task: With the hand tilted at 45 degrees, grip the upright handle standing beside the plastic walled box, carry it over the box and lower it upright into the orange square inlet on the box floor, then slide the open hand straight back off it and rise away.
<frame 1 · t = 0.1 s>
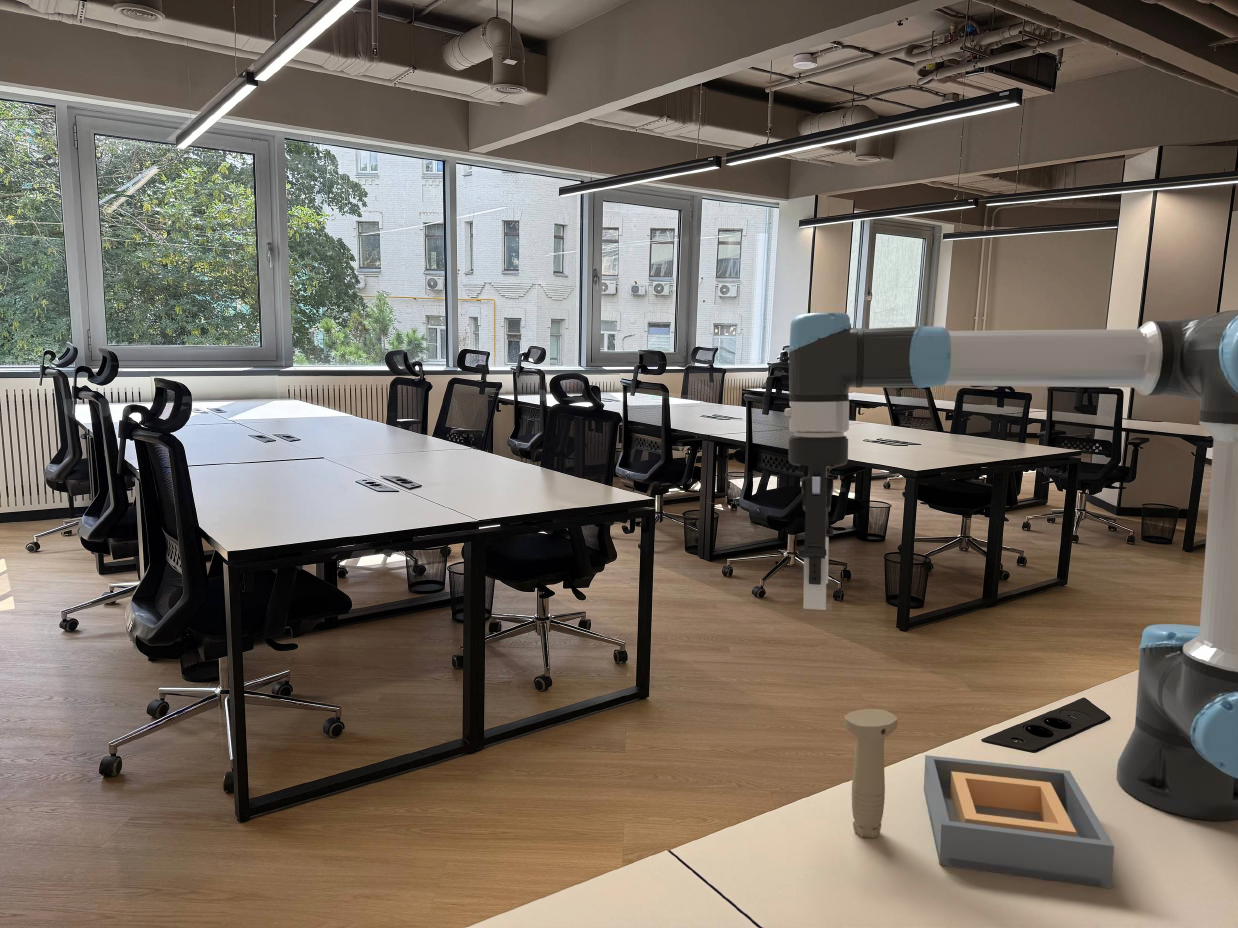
hand: (816, 594, 110), 28 cm above the table, tool pointing down, fingers open, 13 cm apart
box: (1007, 833, 104), on the table
handle: (866, 833, 104), on the table
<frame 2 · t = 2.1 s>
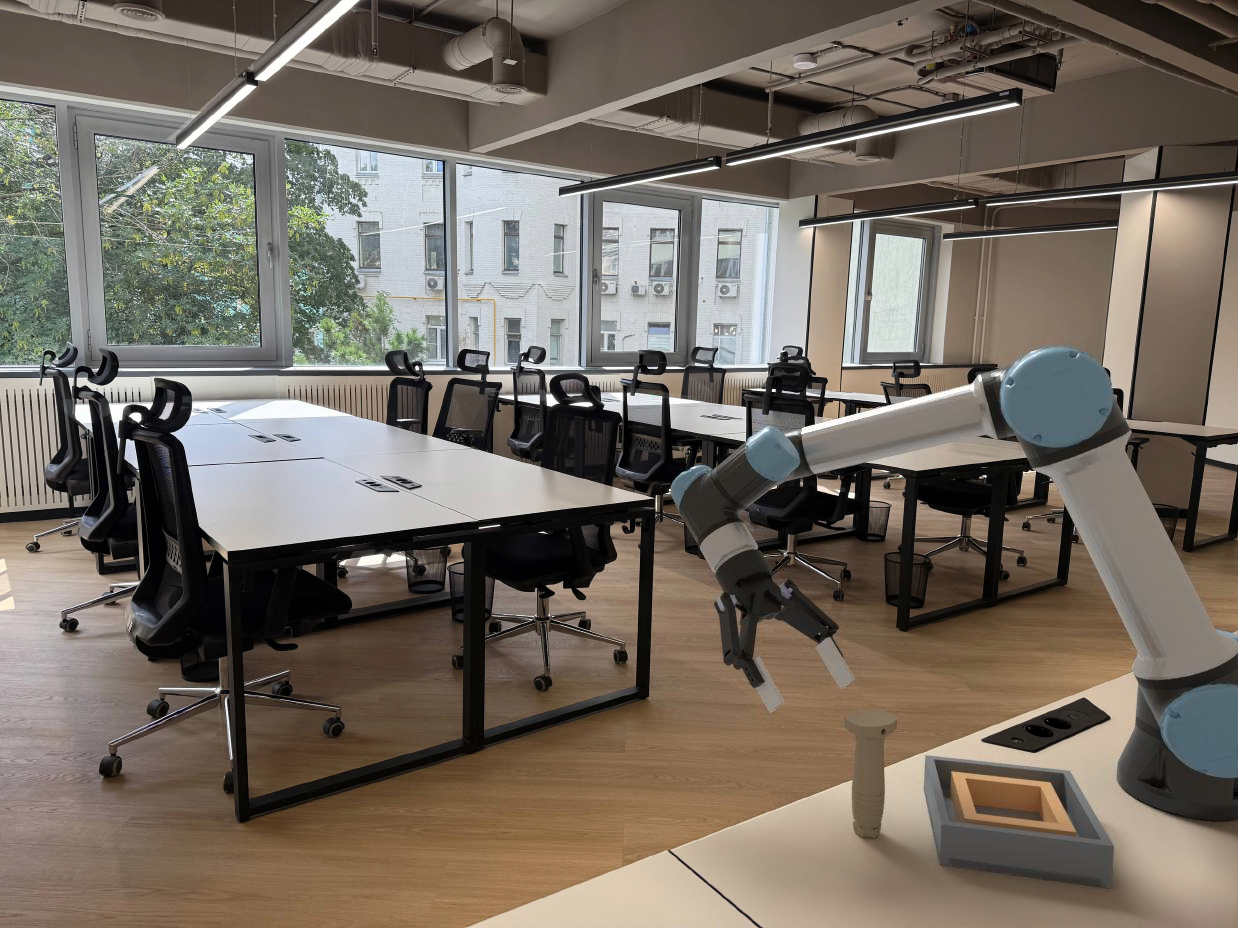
hand: (813, 695, 109), 15 cm above the table, tool tilted 45°, fingers open, 13 cm apart
nothing on the table moved.
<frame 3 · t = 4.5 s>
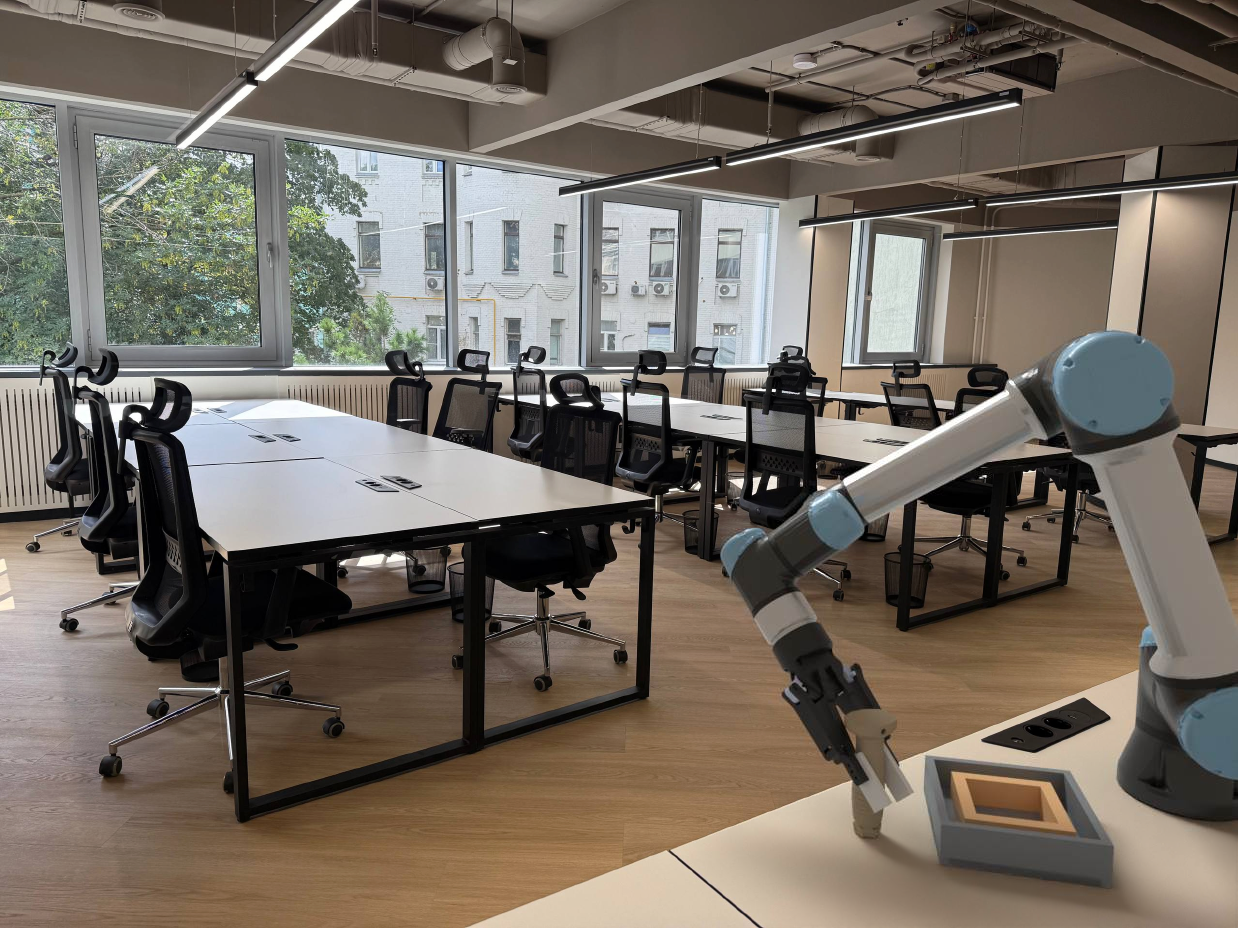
hand: (894, 802, 101), 6 cm above the table, tool tilted 45°, fingers closed on handle, 3 cm apart
handle: (866, 833, 104), on the table, touching gripper
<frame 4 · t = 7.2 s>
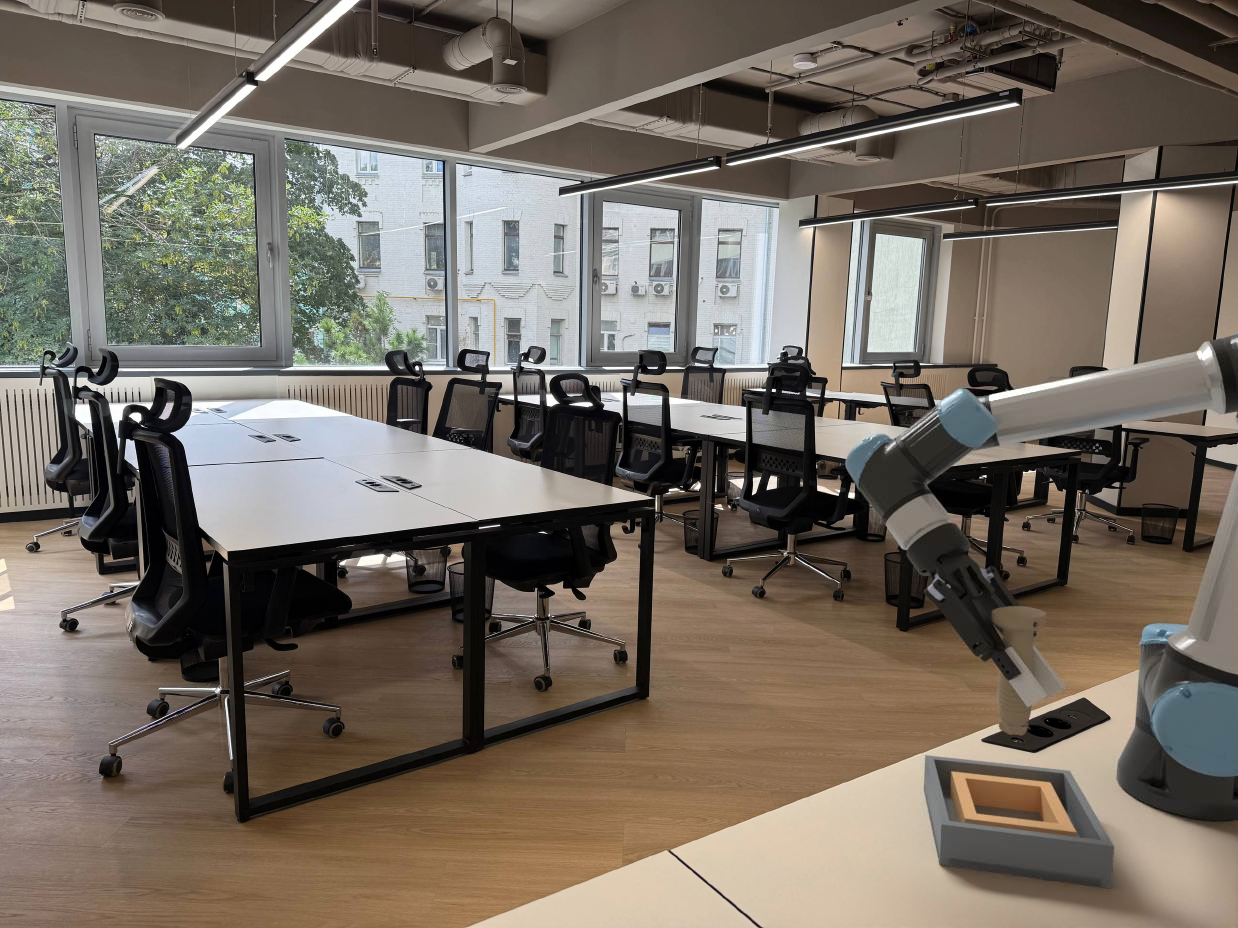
hand: (1046, 696, 99), 19 cm above the table, tool tilted 45°, fingers closed on handle, 3 cm apart
handle: (1012, 732, 102), point 13 cm above the table, touching gripper
when the fingers open (7 cm above the table, at t = 10.2 s): handle stays where it is, resting on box.
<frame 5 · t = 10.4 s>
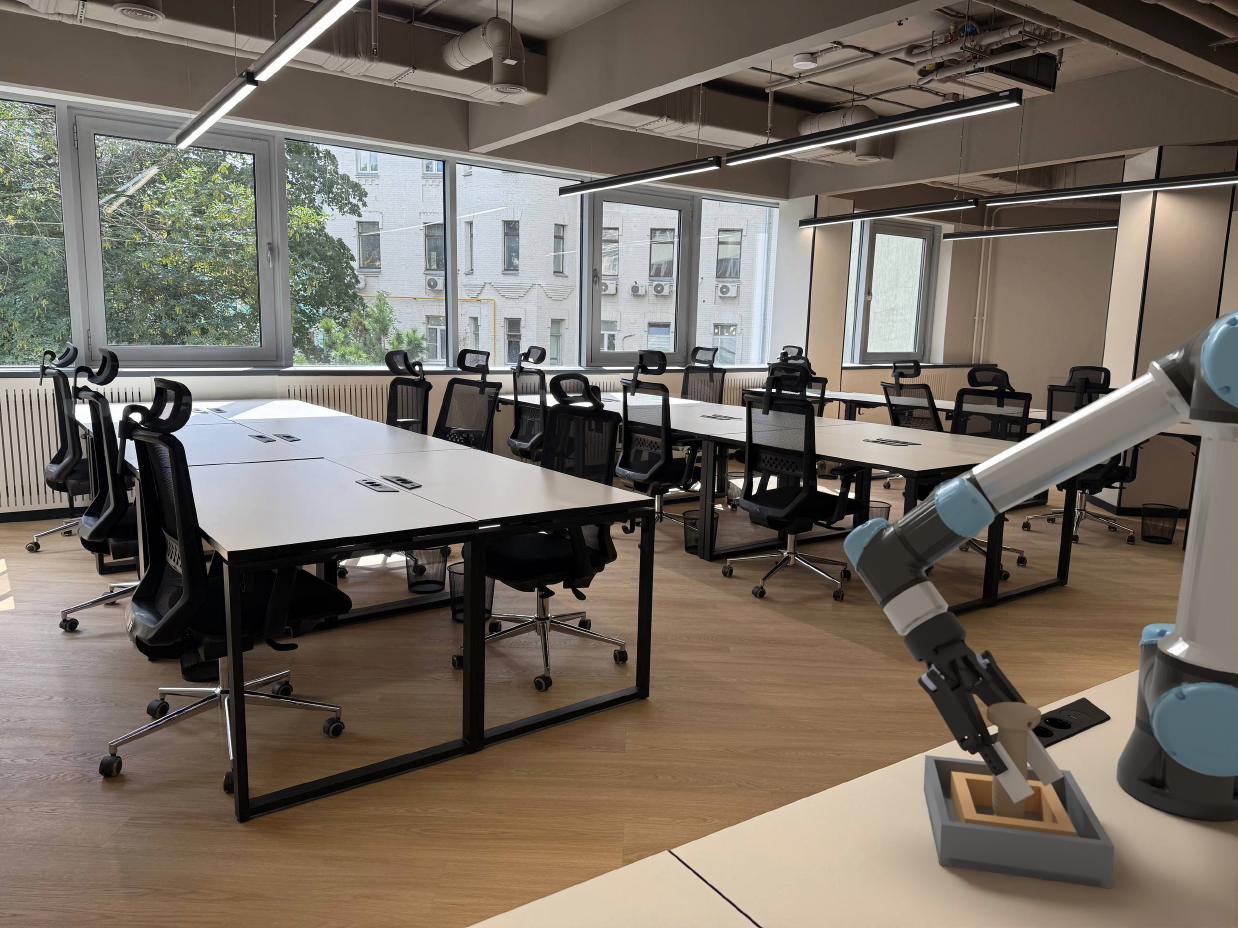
hand: (1039, 789, 100), 7 cm above the table, tool tilted 45°, fingers open, 6 cm apart
handle: (1007, 827, 104), point 1 cm above the table, touching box
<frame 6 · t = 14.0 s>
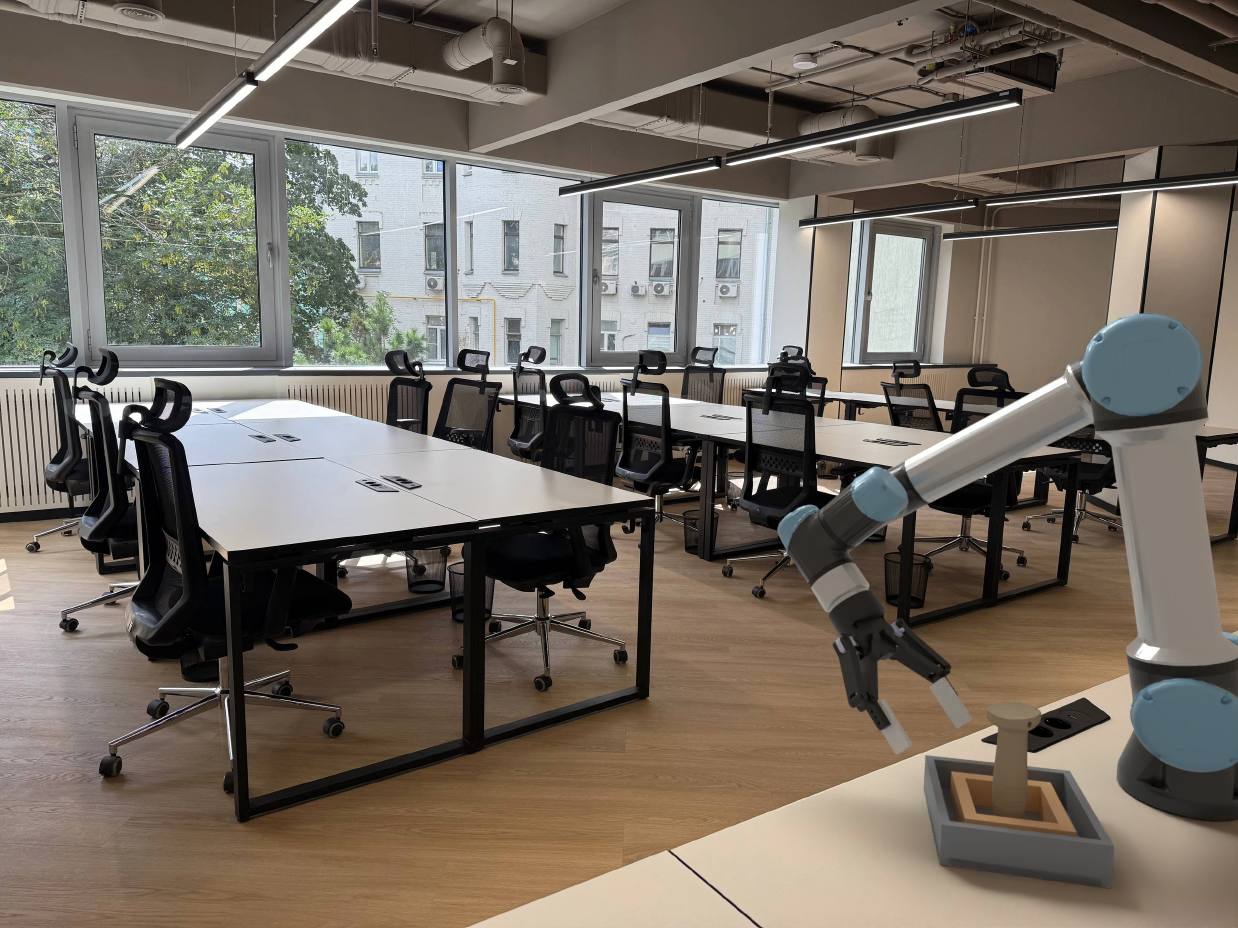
hand: (936, 736, 111), 9 cm above the table, tool tilted 45°, fingers open, 13 cm apart
nothing on the table moved.
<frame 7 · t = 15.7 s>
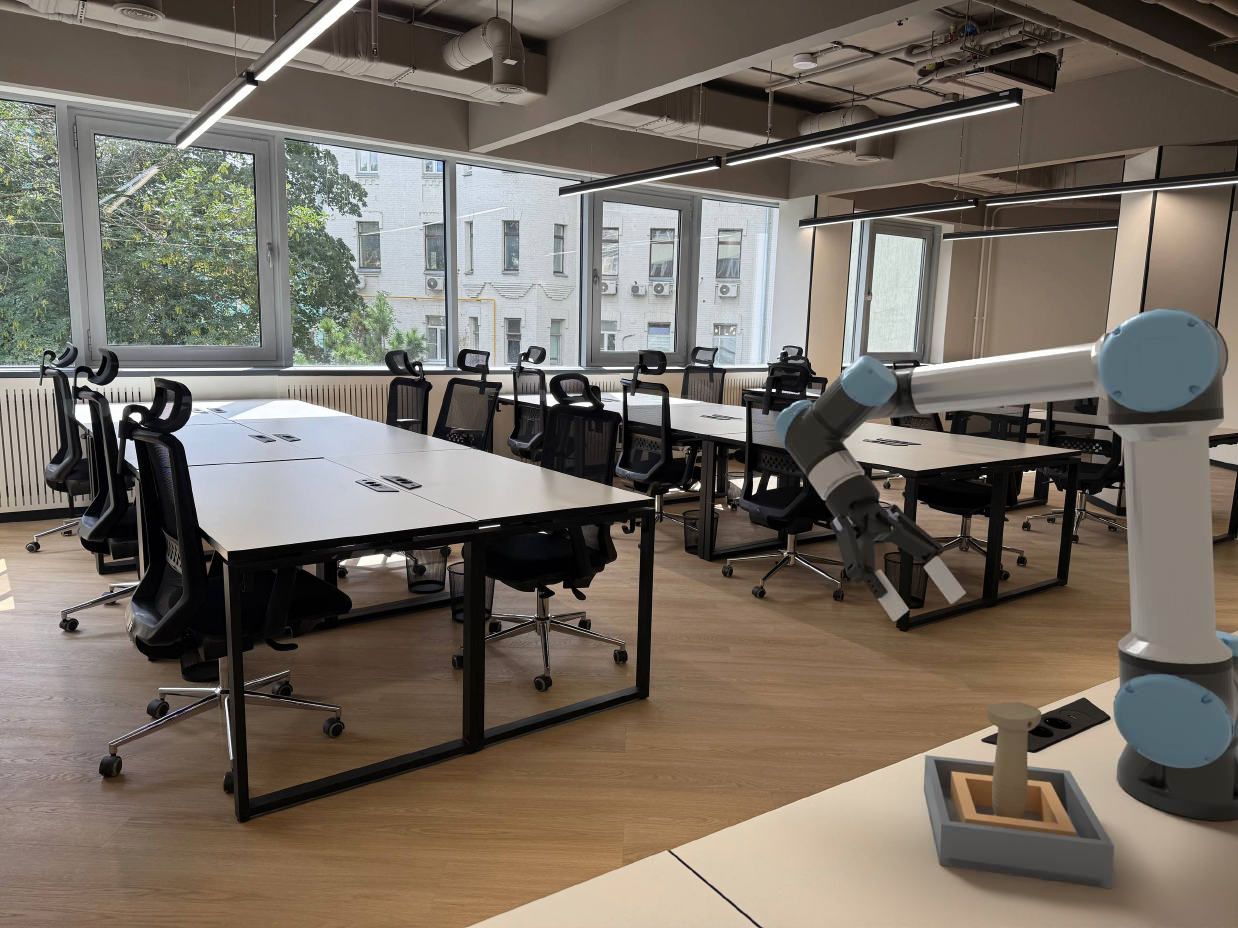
hand: (931, 606, 115), 25 cm above the table, tool tilted 45°, fingers open, 13 cm apart
nothing on the table moved.
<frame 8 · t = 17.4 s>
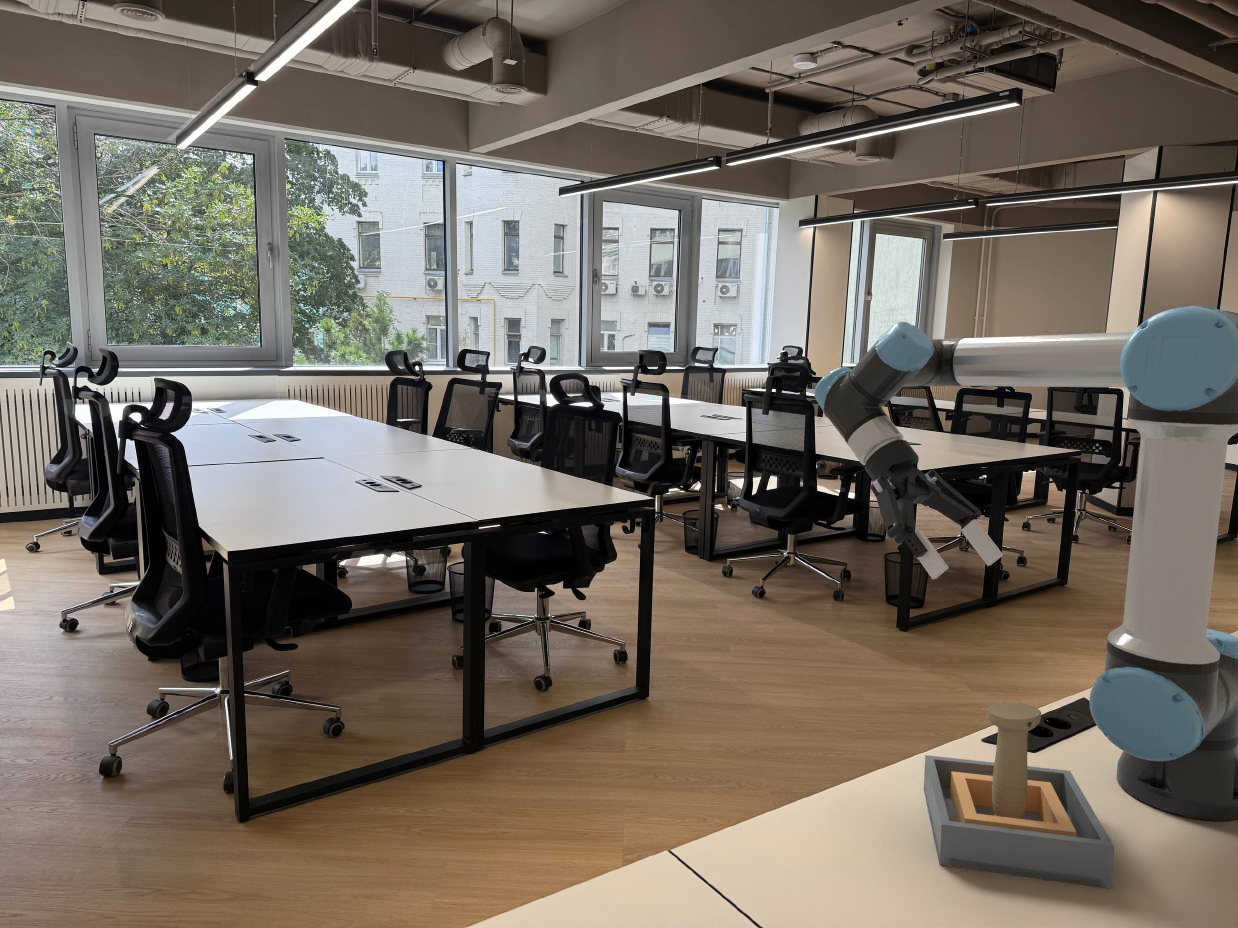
hand: (969, 567, 118), 30 cm above the table, tool tilted 45°, fingers open, 13 cm apart
nothing on the table moved.
at the end: handle 0.1 cm off-centre on the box, point 0.8 cm above the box's base; handle tilted 0°; the gripper is holding nothing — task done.
